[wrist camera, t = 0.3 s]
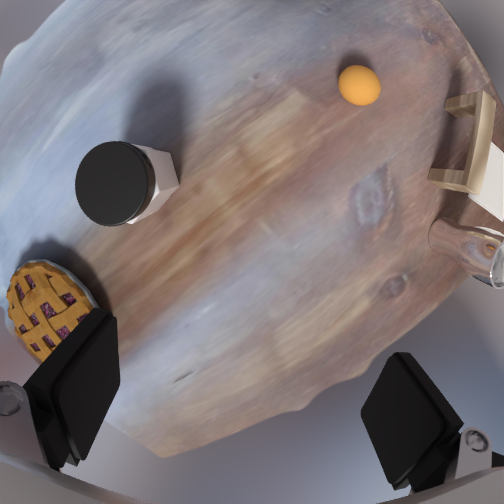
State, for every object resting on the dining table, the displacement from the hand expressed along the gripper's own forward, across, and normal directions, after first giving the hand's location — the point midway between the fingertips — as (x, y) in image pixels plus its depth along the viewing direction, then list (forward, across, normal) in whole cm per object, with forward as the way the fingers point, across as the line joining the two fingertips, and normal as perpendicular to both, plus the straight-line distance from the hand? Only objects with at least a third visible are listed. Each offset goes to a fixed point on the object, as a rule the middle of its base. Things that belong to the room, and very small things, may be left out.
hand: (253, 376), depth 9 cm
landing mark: (+30, -41, -17) cm, 54 cm away
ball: (+27, -10, -20) cm, 35 cm away
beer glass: (+30, -31, -4) cm, 43 cm away
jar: (+30, +14, -3) cm, 33 cm away
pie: (+30, +28, +21) cm, 47 cm away
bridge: (+30, -27, -18) cm, 45 cm away
